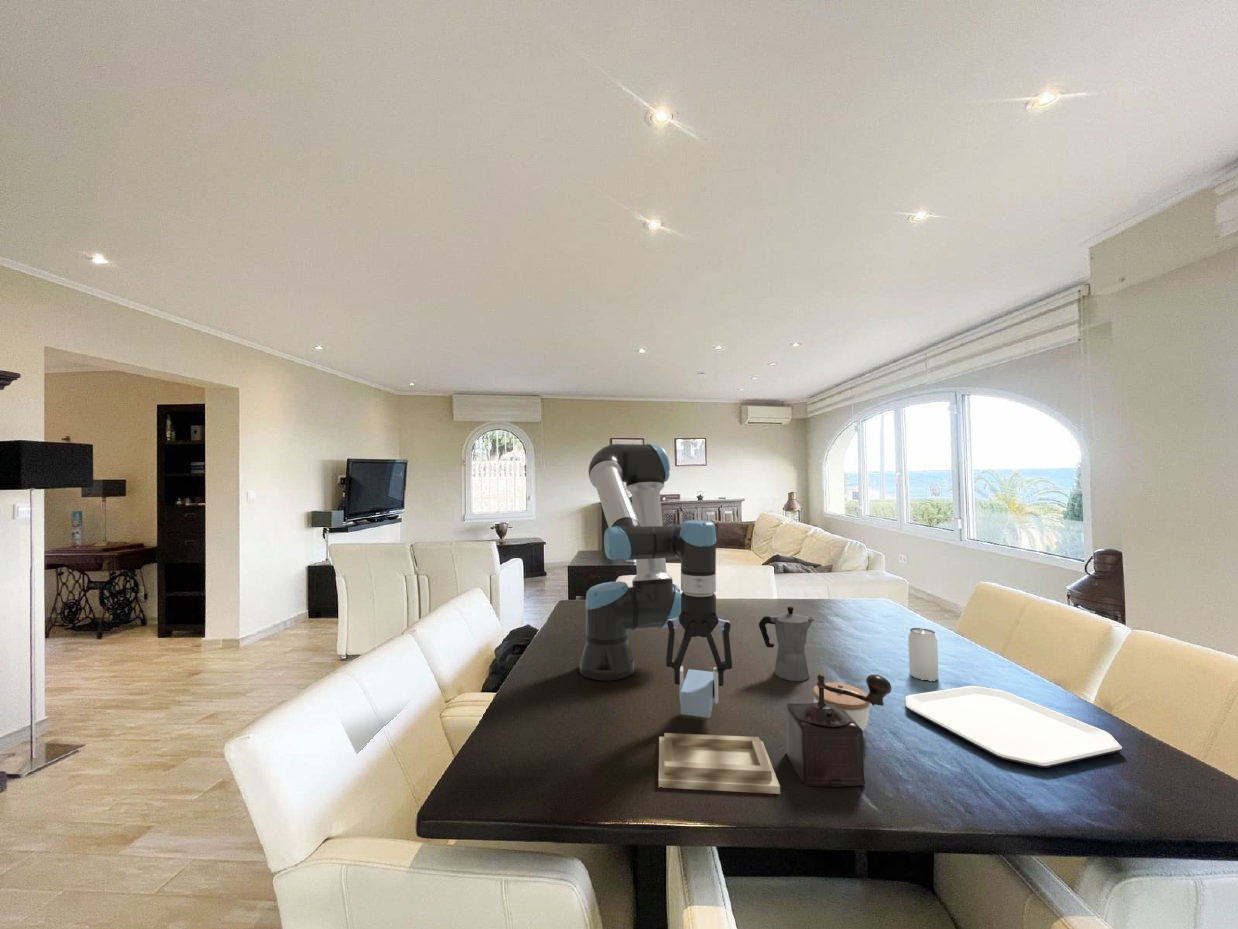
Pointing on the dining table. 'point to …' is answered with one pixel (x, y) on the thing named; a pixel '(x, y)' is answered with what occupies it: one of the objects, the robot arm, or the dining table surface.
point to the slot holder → (715, 763)
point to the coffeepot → (789, 644)
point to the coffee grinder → (829, 737)
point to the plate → (1012, 726)
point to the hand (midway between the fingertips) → (698, 699)
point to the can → (923, 654)
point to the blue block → (697, 693)
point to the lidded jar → (847, 702)
